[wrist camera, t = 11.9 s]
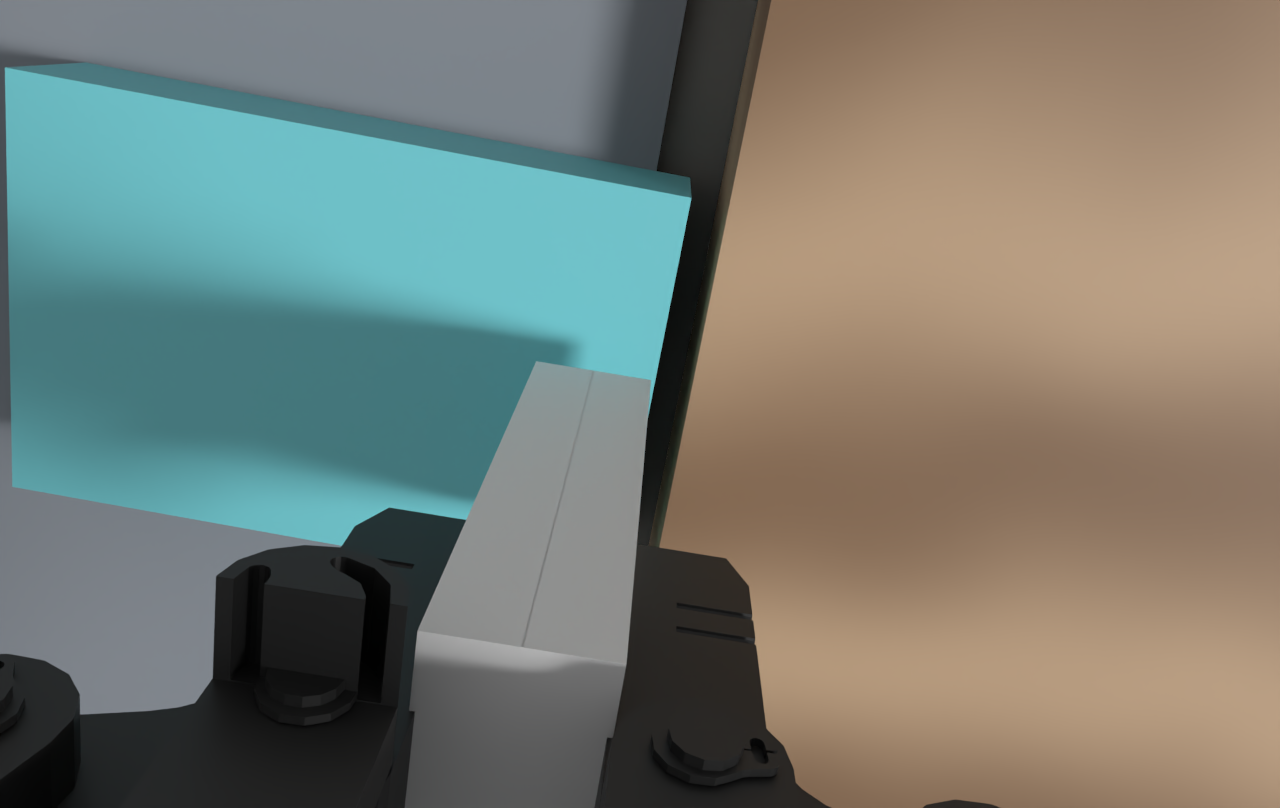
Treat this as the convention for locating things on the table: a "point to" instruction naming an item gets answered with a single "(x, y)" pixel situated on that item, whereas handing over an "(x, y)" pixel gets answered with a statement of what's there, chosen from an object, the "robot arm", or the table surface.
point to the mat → (324, 77)
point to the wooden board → (999, 399)
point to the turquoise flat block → (300, 297)
